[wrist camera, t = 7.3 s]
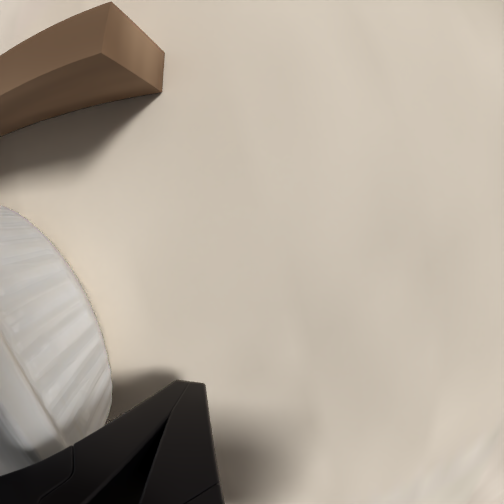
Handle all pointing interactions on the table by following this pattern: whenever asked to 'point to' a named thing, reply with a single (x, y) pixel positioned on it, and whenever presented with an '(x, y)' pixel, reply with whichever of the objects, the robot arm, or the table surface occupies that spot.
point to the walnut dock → (77, 67)
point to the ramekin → (45, 350)
